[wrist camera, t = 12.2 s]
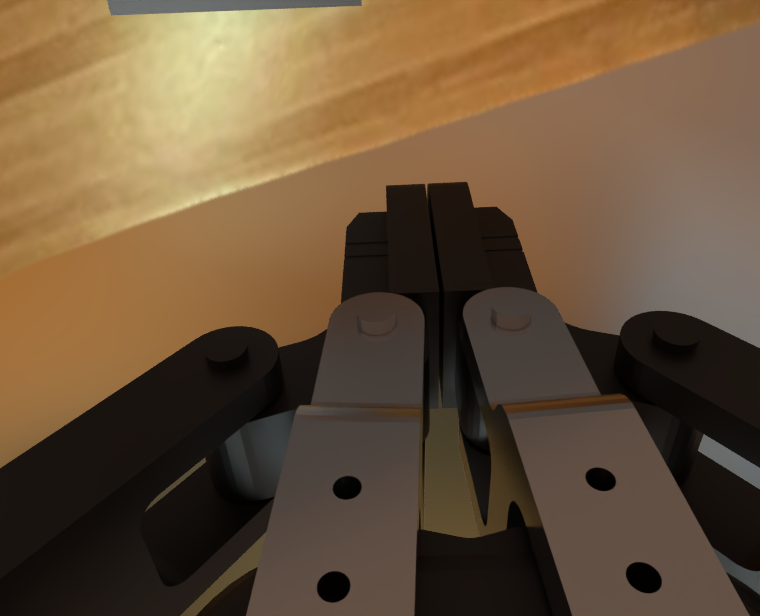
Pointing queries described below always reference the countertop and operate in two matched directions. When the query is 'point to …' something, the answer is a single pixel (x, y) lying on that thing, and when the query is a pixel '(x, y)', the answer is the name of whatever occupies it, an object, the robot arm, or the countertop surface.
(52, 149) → the countertop surface
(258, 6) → the switch base
